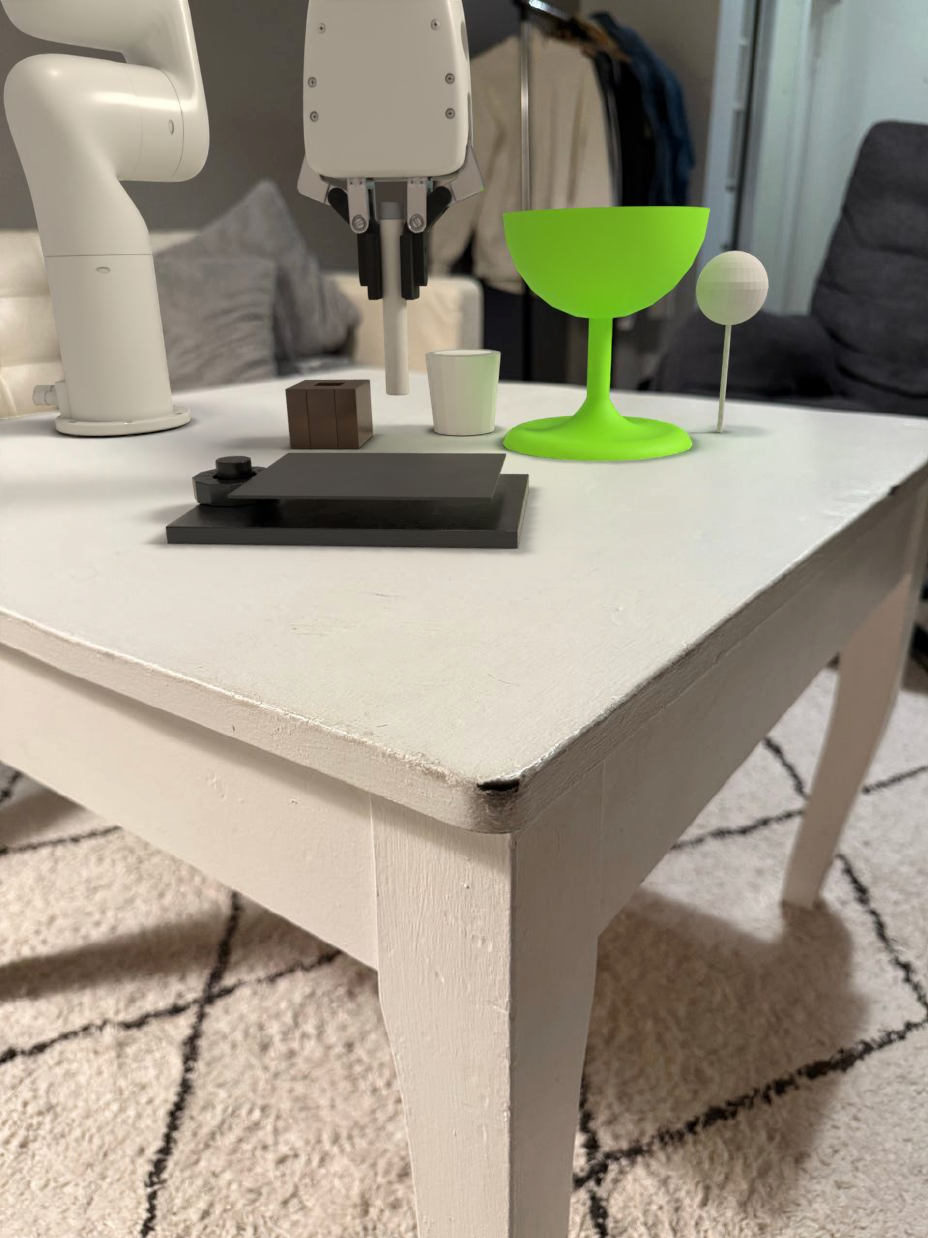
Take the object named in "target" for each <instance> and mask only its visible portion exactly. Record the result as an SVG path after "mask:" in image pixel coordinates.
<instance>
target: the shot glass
mask: <svg viewBox="0 0 928 1238" xmlns="http://www.w3.org/2000/svg"><path fill="white" fill-rule="evenodd" d="M424 355H425V362H426V363H425V364H426V365H425V366H426V372H427V380H428V389H429V397H430V405H431V414H432V423H433V430H434V432H435V433H437V434H440V435H445V436H446V435H447V436H475V435H477V436H478V435H484V434H489V433H493V432H494V431H495V426H496V413H497V401H498V391H499V390H498V389H499V378H500V377H499V376H500V365H501V355H502V353H501V351H497V350H494V349H488V348H487V349H486V348H451V349H440V350H434V351H429V352H426V353H425V354H424Z"/></svg>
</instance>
